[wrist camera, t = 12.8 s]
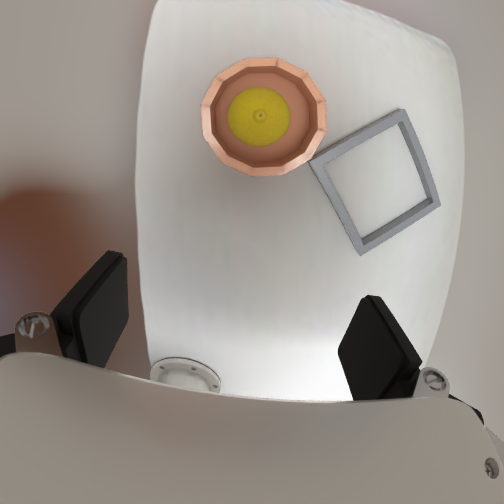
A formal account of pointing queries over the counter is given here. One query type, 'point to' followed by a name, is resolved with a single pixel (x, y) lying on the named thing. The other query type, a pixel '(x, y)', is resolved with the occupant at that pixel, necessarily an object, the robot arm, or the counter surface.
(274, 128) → the lemon
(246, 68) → the bowl
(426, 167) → the gray square frame
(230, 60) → the counter surface
